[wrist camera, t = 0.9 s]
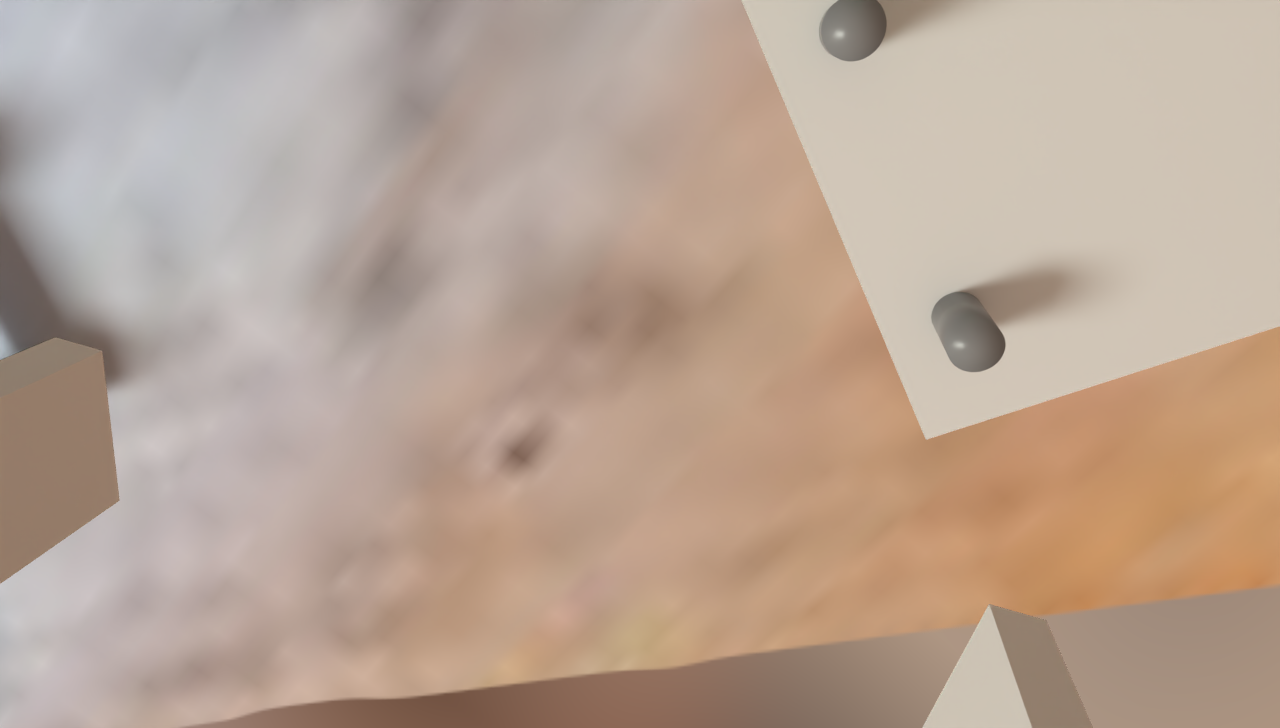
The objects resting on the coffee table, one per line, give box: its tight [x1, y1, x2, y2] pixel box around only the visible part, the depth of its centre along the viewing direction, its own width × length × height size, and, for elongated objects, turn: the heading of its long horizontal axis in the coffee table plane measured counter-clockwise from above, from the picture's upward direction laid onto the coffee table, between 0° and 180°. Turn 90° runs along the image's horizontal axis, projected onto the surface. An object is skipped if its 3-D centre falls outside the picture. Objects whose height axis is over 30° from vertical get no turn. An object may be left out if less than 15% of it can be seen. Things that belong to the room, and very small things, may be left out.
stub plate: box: [742, 0, 1280, 440], centre depth 25 cm, size 22×22×5 cm
